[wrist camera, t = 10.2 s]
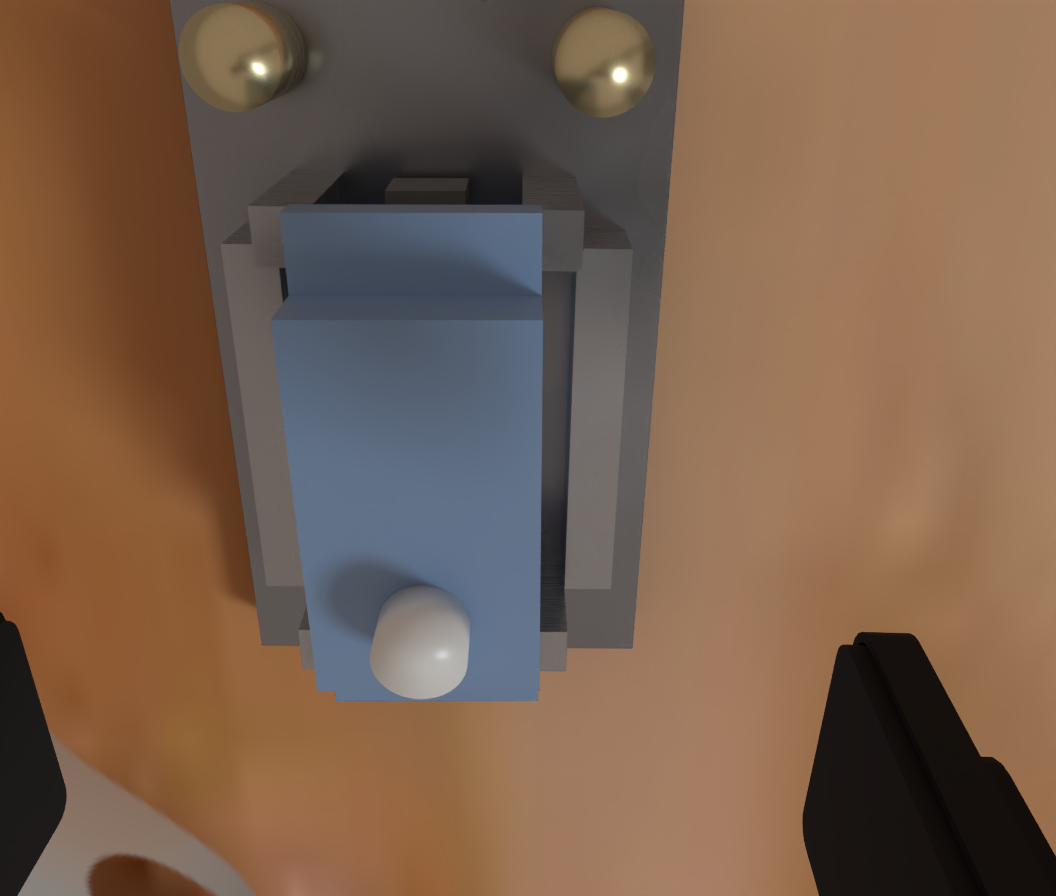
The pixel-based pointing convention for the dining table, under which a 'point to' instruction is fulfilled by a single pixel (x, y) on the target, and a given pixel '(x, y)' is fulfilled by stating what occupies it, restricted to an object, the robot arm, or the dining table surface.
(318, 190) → the chassis
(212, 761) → the dining table surface
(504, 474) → the servo
